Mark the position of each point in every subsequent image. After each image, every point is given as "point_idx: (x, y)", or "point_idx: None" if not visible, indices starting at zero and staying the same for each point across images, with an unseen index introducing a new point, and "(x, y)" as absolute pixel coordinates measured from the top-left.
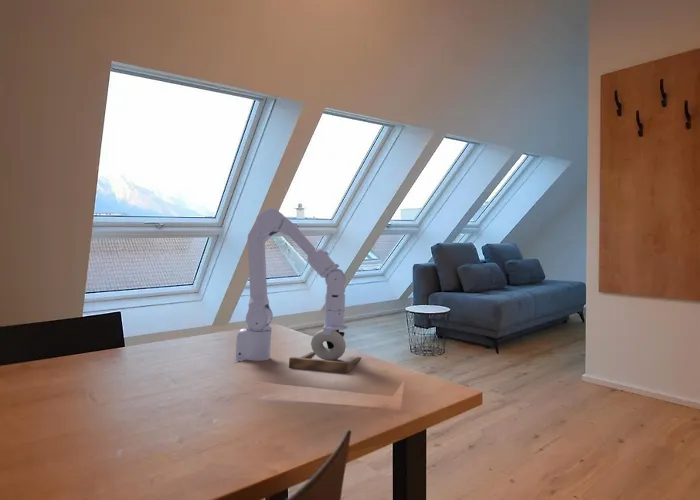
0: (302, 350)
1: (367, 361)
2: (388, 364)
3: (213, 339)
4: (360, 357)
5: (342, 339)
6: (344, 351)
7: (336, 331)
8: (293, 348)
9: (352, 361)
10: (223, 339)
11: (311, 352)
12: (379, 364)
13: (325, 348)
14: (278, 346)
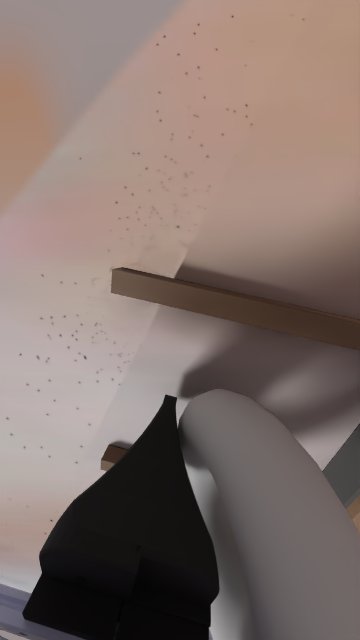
0: (30, 469)
1: (127, 237)
2: (179, 65)
3: (21, 586)
4: (141, 281)
5: (353, 539)
6: (242, 398)
7: (132, 634)
8: (16, 486)
9: (274, 325)
10: (9, 576)
11: (108, 469)
12: (195, 148)
13: (216, 488)
14: (13, 511)
